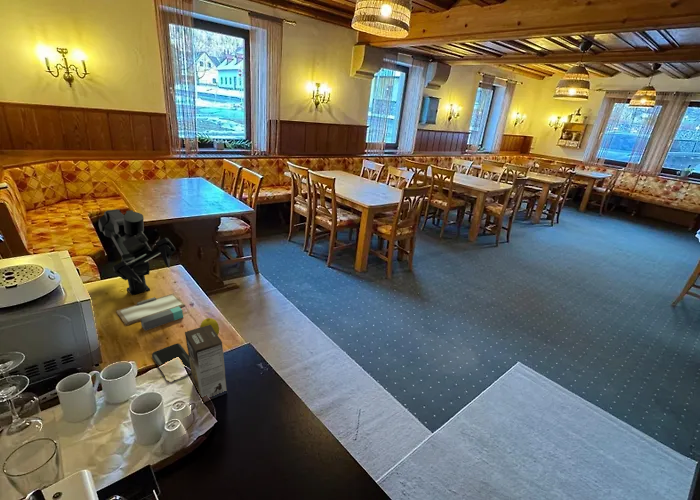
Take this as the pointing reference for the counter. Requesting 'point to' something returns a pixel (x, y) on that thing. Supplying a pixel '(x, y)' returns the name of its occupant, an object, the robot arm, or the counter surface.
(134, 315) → the cream flat piece
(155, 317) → the dark gray rectangular block
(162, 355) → the phone
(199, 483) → the counter surface
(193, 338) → the coffee box
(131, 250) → the robot arm
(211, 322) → the lemon
